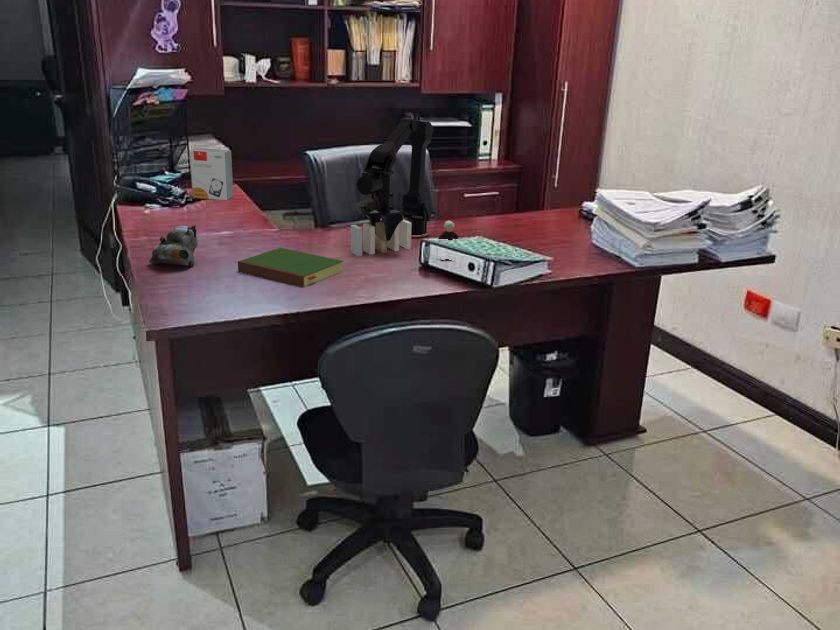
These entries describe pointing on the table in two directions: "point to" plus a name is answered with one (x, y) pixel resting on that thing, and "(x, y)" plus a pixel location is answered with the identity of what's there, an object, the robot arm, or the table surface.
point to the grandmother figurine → (448, 231)
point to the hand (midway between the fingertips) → (381, 237)
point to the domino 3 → (381, 237)
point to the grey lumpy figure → (176, 247)
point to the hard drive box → (211, 173)
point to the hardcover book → (290, 266)
